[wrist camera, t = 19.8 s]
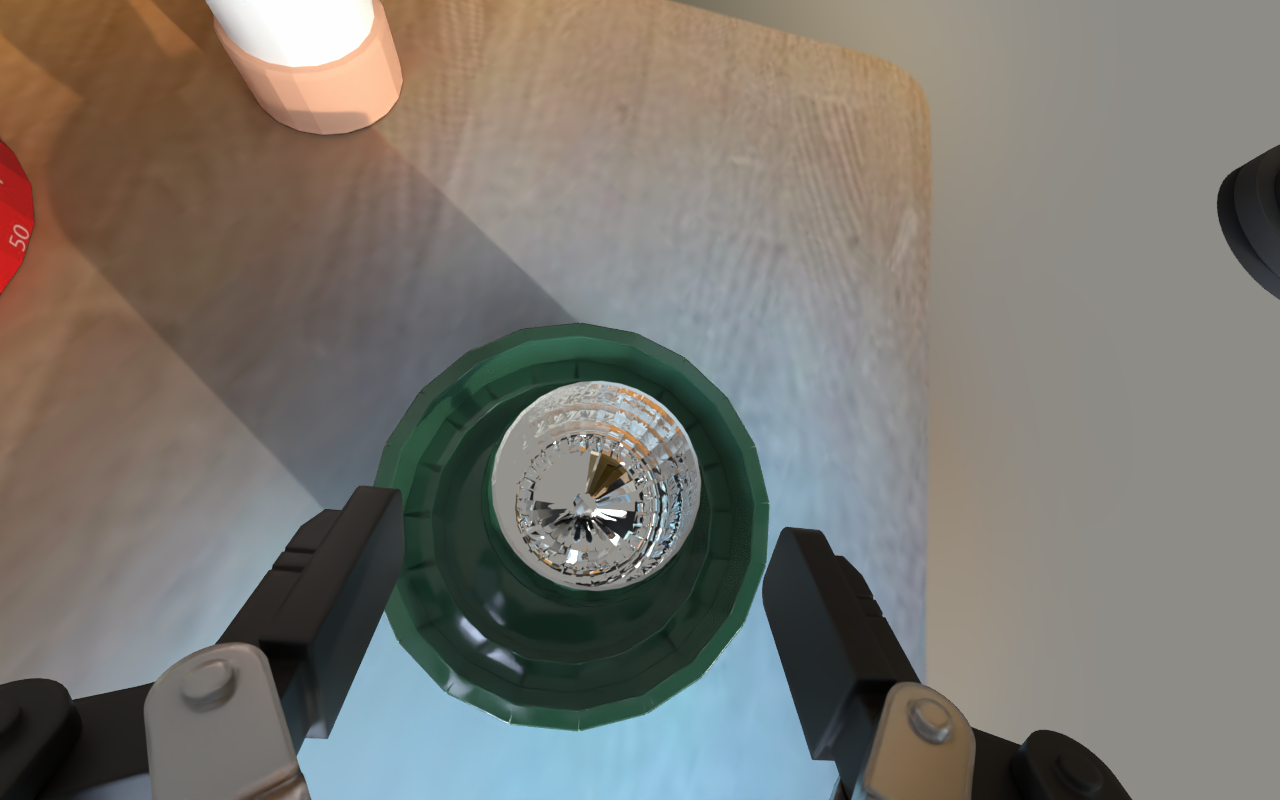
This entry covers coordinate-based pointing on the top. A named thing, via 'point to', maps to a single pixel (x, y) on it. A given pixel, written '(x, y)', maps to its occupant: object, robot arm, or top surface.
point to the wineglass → (590, 494)
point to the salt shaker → (313, 59)
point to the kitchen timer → (13, 214)
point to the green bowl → (521, 622)
